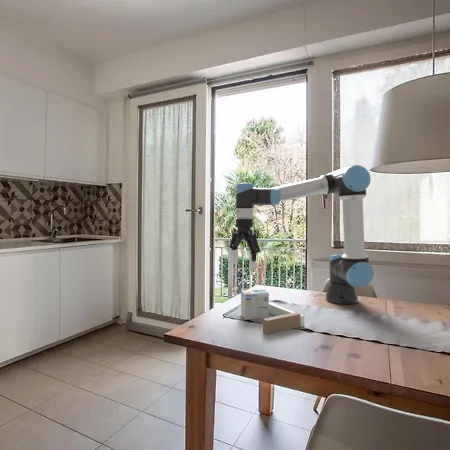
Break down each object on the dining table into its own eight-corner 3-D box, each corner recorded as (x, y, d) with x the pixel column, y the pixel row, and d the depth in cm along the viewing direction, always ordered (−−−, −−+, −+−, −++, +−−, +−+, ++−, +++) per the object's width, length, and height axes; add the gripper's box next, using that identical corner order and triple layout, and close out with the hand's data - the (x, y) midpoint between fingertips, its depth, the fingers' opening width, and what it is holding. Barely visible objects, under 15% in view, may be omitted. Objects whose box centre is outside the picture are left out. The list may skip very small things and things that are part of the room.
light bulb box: (263, 313, 143) (263, 288, 143) (269, 318, 136) (269, 292, 136) (240, 315, 140) (240, 290, 140) (244, 320, 134) (245, 293, 133)
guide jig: (266, 309, 148) (266, 298, 148) (304, 325, 127) (304, 313, 127) (232, 316, 139) (232, 304, 139) (266, 334, 118) (267, 320, 118)
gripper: (222, 217, 153) (221, 262, 154) (254, 219, 132) (253, 271, 133) (235, 217, 157) (235, 261, 158) (268, 218, 136) (268, 270, 136)
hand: (243, 266), depth 145 cm, fingers open, 13 cm apart
